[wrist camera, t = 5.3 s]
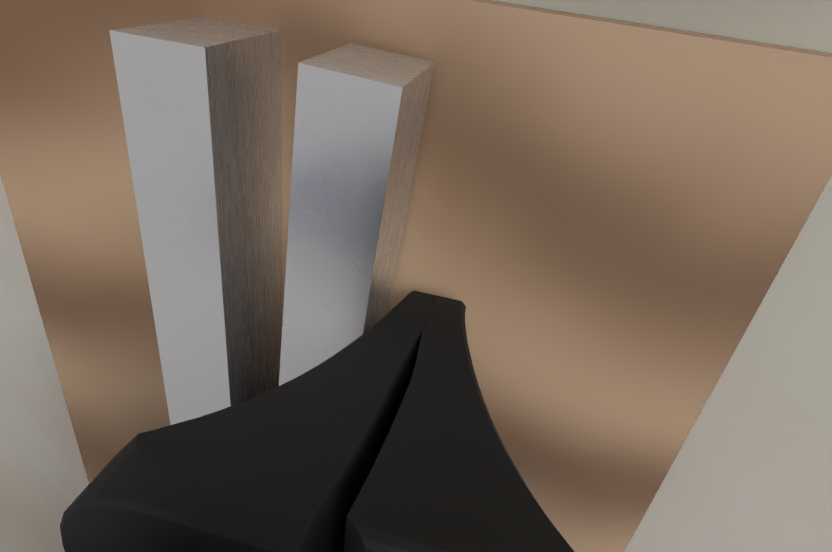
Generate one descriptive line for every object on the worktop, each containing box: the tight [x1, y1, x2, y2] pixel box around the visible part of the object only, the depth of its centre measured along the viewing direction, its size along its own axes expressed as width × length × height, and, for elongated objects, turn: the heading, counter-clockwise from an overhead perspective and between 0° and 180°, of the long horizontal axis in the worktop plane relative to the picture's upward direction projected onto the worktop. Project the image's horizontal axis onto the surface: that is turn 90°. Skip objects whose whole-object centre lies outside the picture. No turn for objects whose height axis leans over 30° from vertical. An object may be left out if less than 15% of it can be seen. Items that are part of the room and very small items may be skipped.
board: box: [0, 0, 832, 552], centre depth 15 cm, size 19×18×1 cm
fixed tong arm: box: [109, 17, 282, 425], centre depth 13 cm, size 15×2×3 cm, turn 173°
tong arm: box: [279, 43, 435, 386], centre depth 13 cm, size 18×2×3 cm, turn 170°
